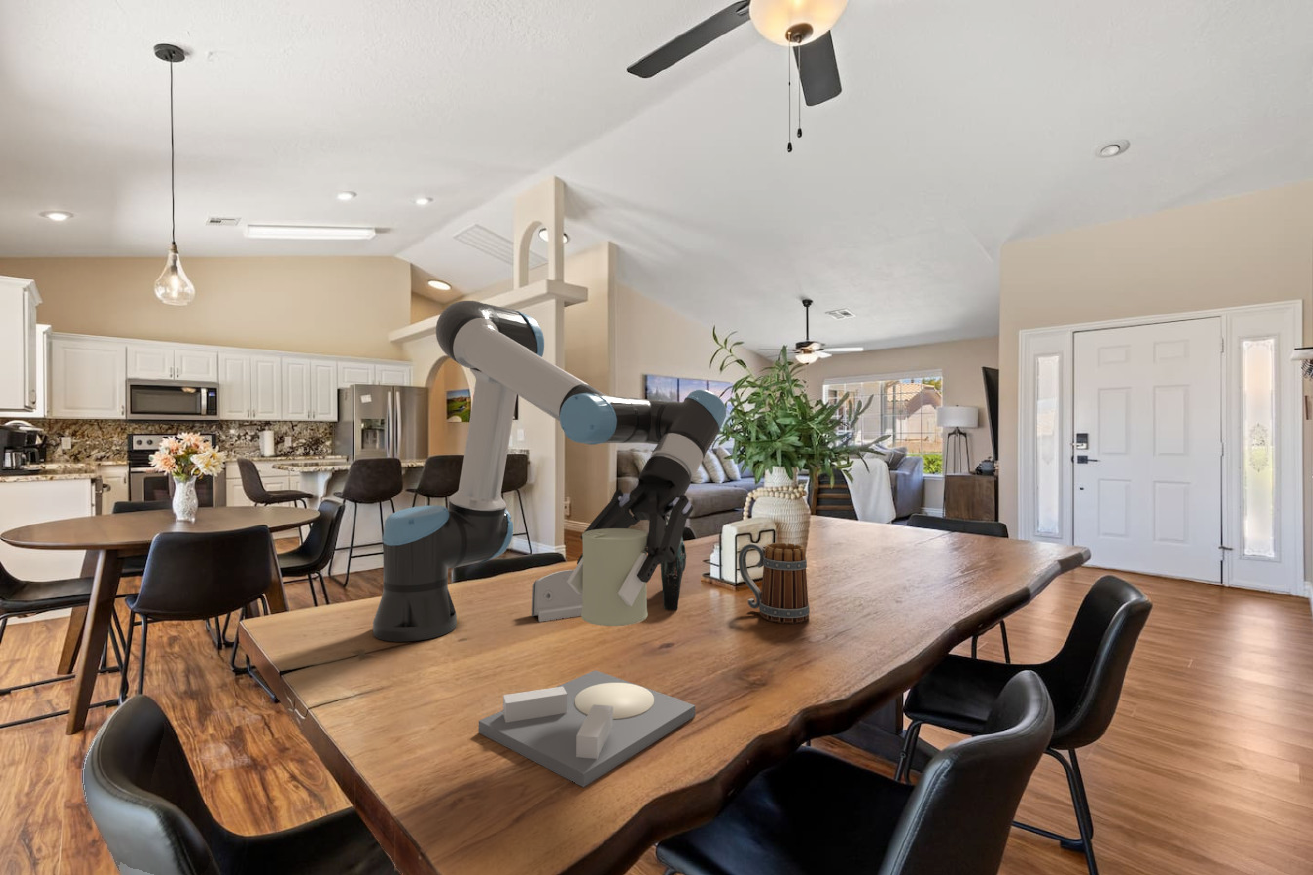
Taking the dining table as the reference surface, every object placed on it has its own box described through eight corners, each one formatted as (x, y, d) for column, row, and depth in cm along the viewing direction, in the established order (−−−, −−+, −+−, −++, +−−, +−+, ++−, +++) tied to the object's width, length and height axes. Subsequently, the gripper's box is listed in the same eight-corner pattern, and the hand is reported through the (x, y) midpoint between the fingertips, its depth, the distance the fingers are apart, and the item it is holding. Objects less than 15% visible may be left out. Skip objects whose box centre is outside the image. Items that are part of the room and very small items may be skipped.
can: (567, 616, 84) (567, 529, 84) (615, 602, 90) (616, 522, 90) (612, 631, 77) (613, 537, 77) (661, 615, 84) (661, 529, 84)
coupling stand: (478, 732, 78) (478, 701, 78) (595, 679, 94) (595, 654, 94) (583, 787, 66) (583, 750, 66) (695, 716, 83) (695, 686, 83)
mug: (816, 614, 130) (817, 545, 130) (799, 627, 121) (800, 553, 121) (749, 603, 138) (750, 537, 138) (729, 614, 129) (730, 544, 129)
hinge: (537, 622, 123) (533, 572, 125) (531, 623, 126) (526, 575, 129) (612, 611, 131) (606, 564, 134) (604, 613, 135) (598, 567, 138)
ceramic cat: (659, 587, 151) (660, 507, 151) (685, 588, 151) (686, 508, 151) (657, 610, 131) (658, 519, 131) (686, 611, 131) (687, 519, 131)
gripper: (739, 490, 89) (674, 624, 77) (628, 482, 103) (558, 595, 90) (720, 455, 85) (648, 591, 73) (607, 451, 98) (530, 566, 86)
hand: (598, 593), depth 81 cm, fingers closed on can, 9 cm apart
